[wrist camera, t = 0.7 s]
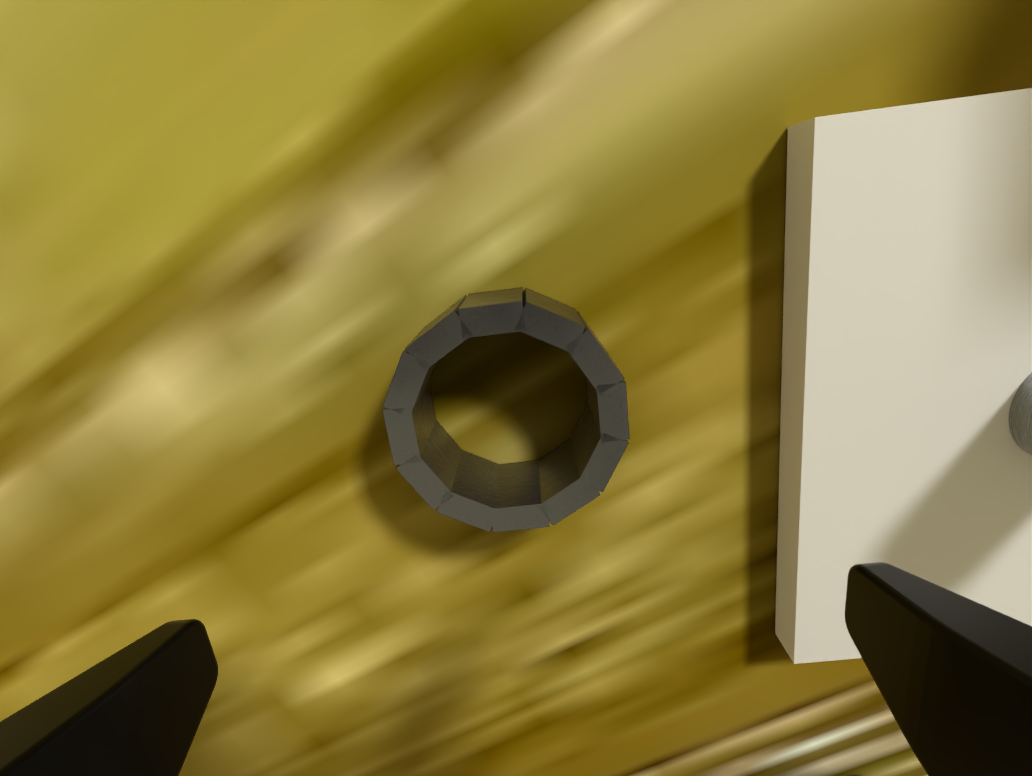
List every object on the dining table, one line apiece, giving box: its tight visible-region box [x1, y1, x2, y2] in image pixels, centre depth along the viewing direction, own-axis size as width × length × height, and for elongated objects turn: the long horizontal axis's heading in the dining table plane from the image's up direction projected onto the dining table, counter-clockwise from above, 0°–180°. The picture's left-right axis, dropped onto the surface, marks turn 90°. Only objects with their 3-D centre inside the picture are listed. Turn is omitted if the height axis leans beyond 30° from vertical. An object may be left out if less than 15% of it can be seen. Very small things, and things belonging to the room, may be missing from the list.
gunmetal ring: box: [382, 287, 630, 533], centre depth 16 cm, size 7×7×3 cm
